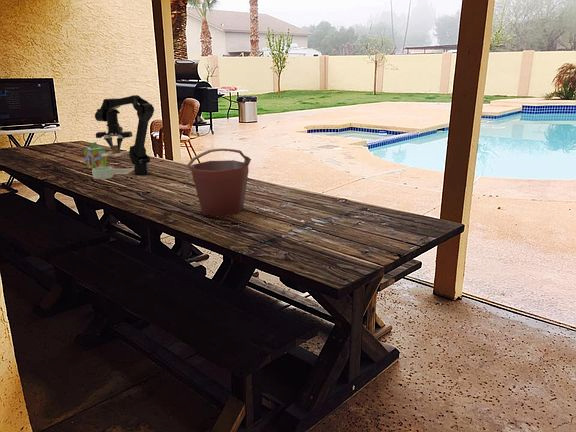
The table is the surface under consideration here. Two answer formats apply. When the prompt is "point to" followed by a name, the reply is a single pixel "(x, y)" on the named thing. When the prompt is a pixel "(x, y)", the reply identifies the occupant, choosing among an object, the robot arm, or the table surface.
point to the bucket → (220, 184)
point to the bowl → (102, 172)
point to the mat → (122, 171)
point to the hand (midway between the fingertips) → (116, 150)
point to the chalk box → (95, 156)
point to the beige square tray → (115, 152)
